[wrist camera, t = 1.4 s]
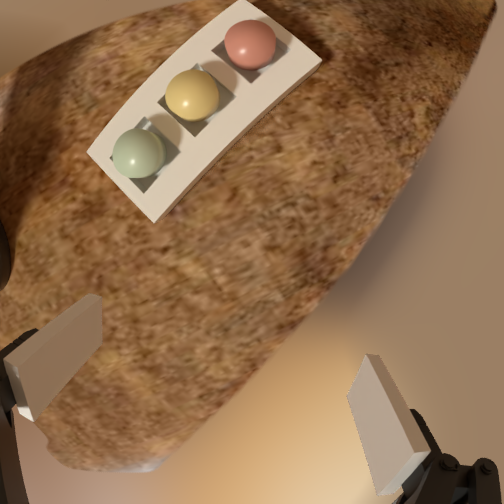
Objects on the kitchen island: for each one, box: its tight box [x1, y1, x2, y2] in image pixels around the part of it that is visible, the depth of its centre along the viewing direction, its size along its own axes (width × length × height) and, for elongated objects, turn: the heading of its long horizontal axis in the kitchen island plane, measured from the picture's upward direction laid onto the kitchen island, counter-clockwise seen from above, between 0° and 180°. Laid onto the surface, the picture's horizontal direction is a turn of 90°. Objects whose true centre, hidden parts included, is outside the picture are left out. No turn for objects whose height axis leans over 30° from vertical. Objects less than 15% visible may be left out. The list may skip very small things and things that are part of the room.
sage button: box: [112, 128, 167, 178], centre depth 29 cm, size 5×5×3 cm
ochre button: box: [165, 69, 220, 122], centre depth 27 cm, size 5×5×3 cm
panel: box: [87, 0, 322, 223], centre depth 30 cm, size 12×25×3 cm, turn 135°
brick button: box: [224, 20, 276, 71], centre depth 26 cm, size 5×5×3 cm
